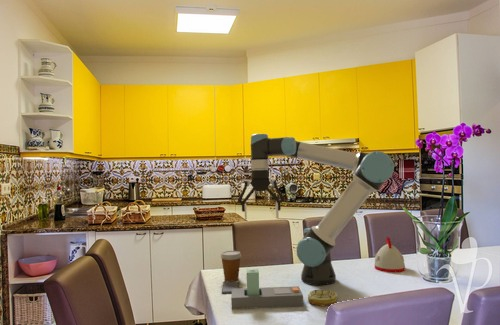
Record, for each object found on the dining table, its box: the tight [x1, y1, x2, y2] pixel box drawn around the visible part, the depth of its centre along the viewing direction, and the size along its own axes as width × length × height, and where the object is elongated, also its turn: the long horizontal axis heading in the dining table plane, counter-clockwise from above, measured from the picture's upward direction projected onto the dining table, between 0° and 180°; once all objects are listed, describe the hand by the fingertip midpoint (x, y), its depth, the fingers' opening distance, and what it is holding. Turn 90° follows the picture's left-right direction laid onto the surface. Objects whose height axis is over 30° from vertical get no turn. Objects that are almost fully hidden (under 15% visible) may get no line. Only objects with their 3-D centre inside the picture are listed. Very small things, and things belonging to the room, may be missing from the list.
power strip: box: [230, 285, 304, 310], centre depth 135 cm, size 26×10×5 cm, turn 91°
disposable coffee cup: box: [220, 250, 242, 282], centre depth 165 cm, size 10×10×12 cm
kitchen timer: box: [374, 236, 406, 274], centre depth 175 cm, size 14×14×15 cm
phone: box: [221, 281, 240, 295], centre depth 152 cm, size 7×13×1 cm, turn 1°
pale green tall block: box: [245, 268, 260, 296], centre depth 135 cm, size 4×4×12 cm
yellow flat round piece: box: [307, 288, 338, 307], centre depth 134 cm, size 10×11×4 cm
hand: (261, 218), depth 155 cm, fingers open, 13 cm apart
